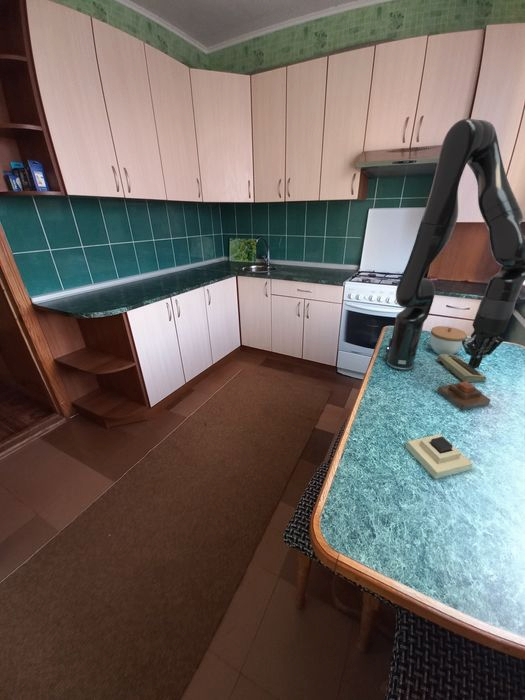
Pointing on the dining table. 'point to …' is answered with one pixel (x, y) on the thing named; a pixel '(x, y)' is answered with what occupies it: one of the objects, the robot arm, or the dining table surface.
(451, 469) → the beige stepped square base
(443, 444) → the key front
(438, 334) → the lidded bowl
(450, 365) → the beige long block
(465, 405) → the brown stepped square base
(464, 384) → the key back
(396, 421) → the dining table surface
